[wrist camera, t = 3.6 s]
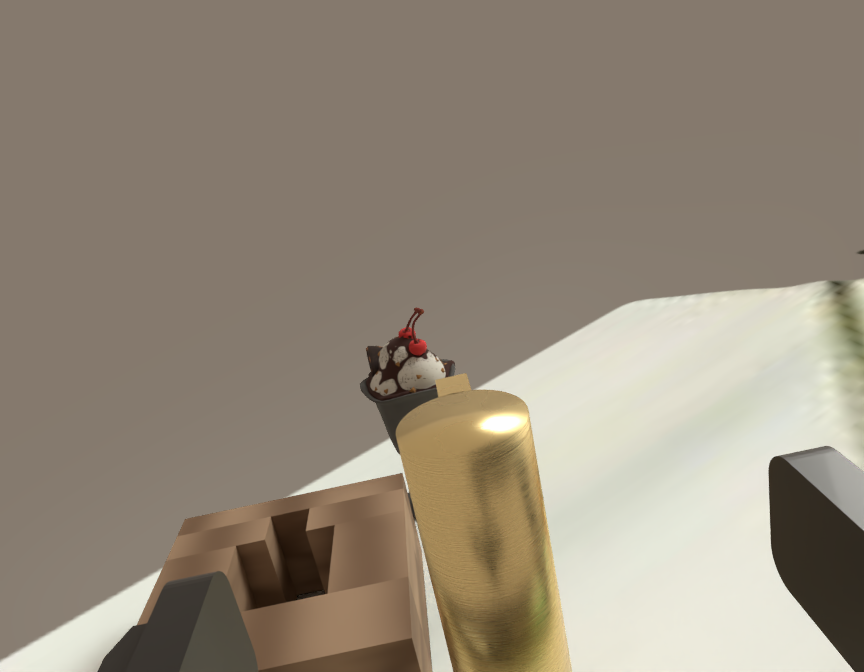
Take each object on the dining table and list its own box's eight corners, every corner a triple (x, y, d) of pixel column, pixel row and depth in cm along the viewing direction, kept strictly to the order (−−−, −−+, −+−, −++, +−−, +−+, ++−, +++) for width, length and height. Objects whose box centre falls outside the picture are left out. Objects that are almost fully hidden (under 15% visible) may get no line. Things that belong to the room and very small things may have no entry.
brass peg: (568, 714, 32) (507, 364, 26) (607, 844, 27) (541, 437, 21) (476, 734, 32) (393, 388, 26) (496, 867, 27) (397, 468, 21)
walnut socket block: (421, 550, 46) (402, 473, 44) (438, 736, 33) (411, 638, 31) (213, 594, 46) (185, 519, 44) (146, 798, 33) (101, 703, 31)
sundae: (491, 512, 48) (451, 311, 43) (397, 538, 48) (345, 336, 42) (470, 466, 54) (433, 285, 49) (387, 488, 54) (341, 307, 49)
